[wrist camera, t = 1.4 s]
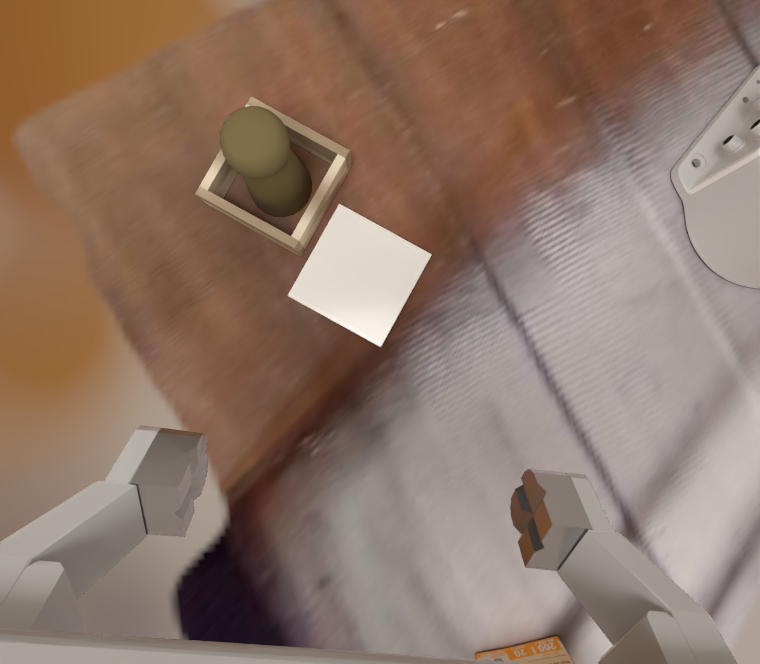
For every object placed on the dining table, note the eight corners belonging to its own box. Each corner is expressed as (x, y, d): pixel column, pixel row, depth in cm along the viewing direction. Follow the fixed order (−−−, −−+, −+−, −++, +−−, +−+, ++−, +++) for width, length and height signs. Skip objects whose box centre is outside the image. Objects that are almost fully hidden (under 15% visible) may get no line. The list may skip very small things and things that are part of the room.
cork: (246, 159, 44) (203, 96, 33) (308, 152, 44) (285, 86, 33) (253, 220, 44) (212, 178, 33) (315, 213, 44) (295, 168, 33)
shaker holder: (261, 116, 44) (251, 96, 40) (351, 166, 44) (349, 150, 40) (209, 206, 44) (195, 193, 40) (301, 256, 43) (294, 248, 40)
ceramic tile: (340, 206, 44) (339, 203, 43) (430, 256, 44) (431, 254, 43) (289, 296, 43) (287, 295, 42) (380, 347, 43) (380, 347, 42)
